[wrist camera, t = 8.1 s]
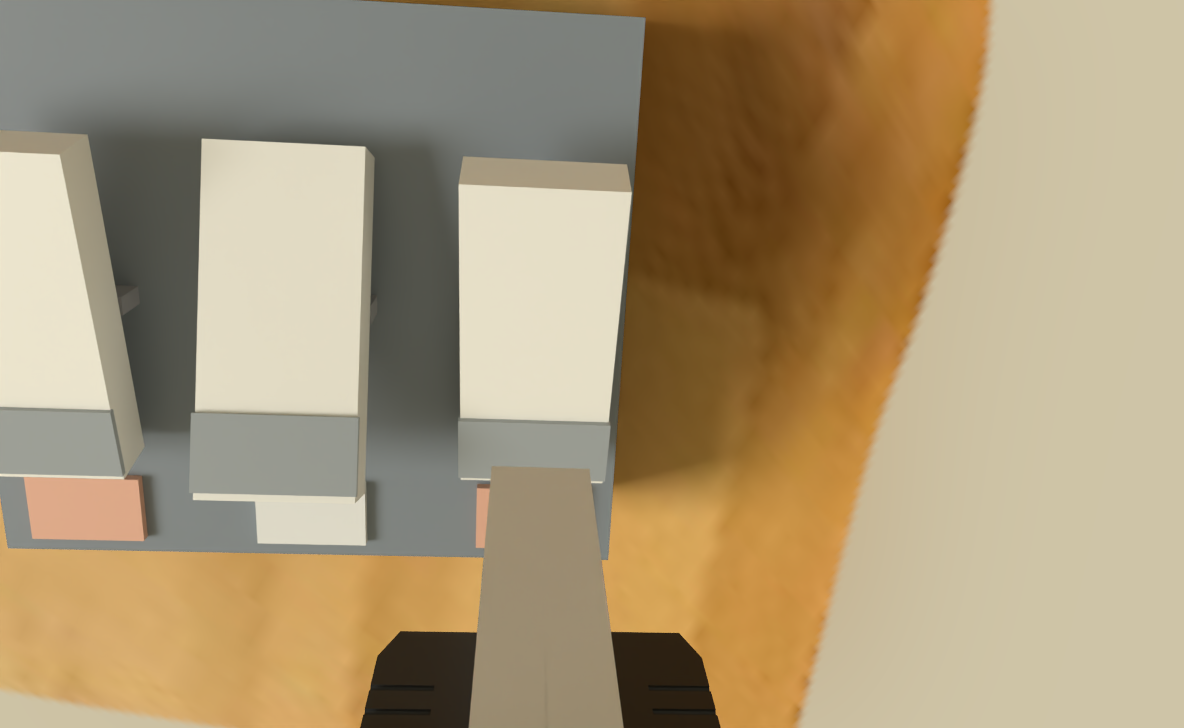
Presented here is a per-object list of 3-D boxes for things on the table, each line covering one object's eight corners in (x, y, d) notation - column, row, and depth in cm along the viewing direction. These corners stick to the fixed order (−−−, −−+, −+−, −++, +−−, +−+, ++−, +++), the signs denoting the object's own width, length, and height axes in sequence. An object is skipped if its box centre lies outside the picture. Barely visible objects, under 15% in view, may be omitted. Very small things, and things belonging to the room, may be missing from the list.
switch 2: (218, 150, 26) (198, 137, 24) (376, 158, 26) (366, 145, 25) (210, 489, 26) (188, 501, 25) (366, 493, 27) (356, 504, 25)
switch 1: (-89, 125, 24) (-133, 147, 22) (89, 134, 24) (59, 156, 22) (-4, 442, 28) (-36, 479, 26) (146, 446, 28) (124, 483, 27)
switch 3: (461, 156, 24) (456, 186, 23) (629, 164, 24) (634, 195, 23) (462, 443, 29) (458, 483, 28) (601, 447, 30) (604, 487, 28)
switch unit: (20, -18, 29) (-108, -29, 23) (627, 18, 31) (651, 17, 25) (80, 482, 34) (-12, 576, 29) (597, 495, 36) (610, 587, 30)
